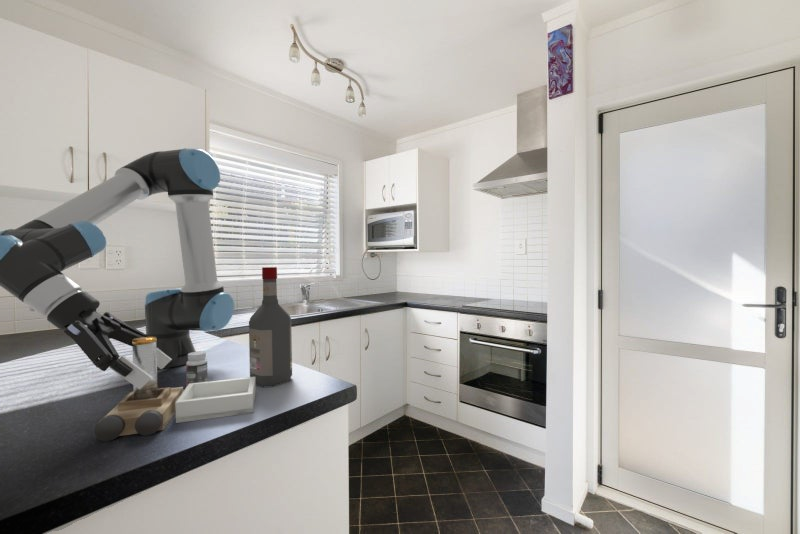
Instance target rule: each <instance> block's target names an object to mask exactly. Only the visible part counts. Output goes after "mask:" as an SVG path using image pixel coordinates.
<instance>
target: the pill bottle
mask: <svg viewBox="0 0 800 534" xmlns="http://www.w3.org/2000/svg"><path fill="white" fill-rule="evenodd" d="M206 357H207V353H206V351H202V350H200V351H199V350H198V351H196V352H192V353H189V354H188V360H189V361H187V363H186V364H185V369H186V370H185V373H186V375H185V376H186V378H185V379H186V383H185V384H186V387H187V386H188V384H190V383H200V382H209V381H208V360H207V358H206Z"/></svg>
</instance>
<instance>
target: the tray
mask: <svg viewBox="0 0 800 534" xmlns="http://www.w3.org/2000/svg"><path fill="white" fill-rule="evenodd" d="M256 387H257V385H256V380H255V377H250V376H249V377H247V376H246V377H241V378H240V377H239V378H229V379H219V380H210V381H208V382H200V383H190V384H188V386H187V385H186V387H185V389H183V393H182V394H181V396H180V397H179V398H178V400H177V401H176V403H175V408H176V412H175V424H180V423H186V422H194V421H200V420H207V419H208V420H209V419H216V418H223V417H231V416H239V415H245V414H252V413H254V407H255V401H256V394H257V393H256V392H257V390H256V389H257V388H256Z"/></svg>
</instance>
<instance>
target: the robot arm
mask: <svg viewBox="0 0 800 534" xmlns="http://www.w3.org/2000/svg"><path fill="white" fill-rule="evenodd" d="M220 181H221V172H220V169H219V165H218V164H217V162H216V160H215V159H214V158H213V157H212V155H211V154H209V153H208V152H207V151H206V150H204V149H202V148H201V149H200V148H186V147H184V148H182V149H181V148H180V149H172V150H165V151H164V150H161V151H154V152H150V153H148V154H145V155H143V156H140V157H139V158H136V159H135V160H133V161H131V162H129V163H128V164H126V165H124V166H121V167H120V168H118V169H117V170H116V171H115V172H114V176H112V177H110V178H108V179H106V180H104V181H103V182H101V183H100V184H99V183H98V184H97V185H96V186H94V187H92V188H90V189H88V190H86V191H84V192H83V193H80V194H79V195H77V196H75V197H74V198H72V199H69V200H68V201H66V202H64V203H62V204H60V205H58V206H57V207H55V208H53V209H52V210H49V211H47V212H45V213H44V214H42V215H40V216H38V217H36V218H35V219H33V220H30V221H29V222H27V223H25V224H23V225H20V226H18V227H17V228H15V229H14V228H10V229H5V230H0V287H1V288H2V289H4V290H5V291H7V292H8V293H10V295H11V294H12V296H14V297H16V298H17V299H18V300H20V301H21V302H22V303H24V304H25V306H28V307H29V311H30V312H36V313H37V314H39V316H41V317H46V320H47V321H48V322H49V323H51V324H52V325H53V326H55V327H56V328H57V329H58V330H60V331H63V332H64V334H66V335H67V336H68V337H69V338H71V339H72V340H73V341H74V343H76V344H77V346H78V347H79V348H80V350H81V351H82V352H83V353H84V354H85V355H86V357H88V359H89V360H90V361H91V362H92V364H93V365H94V366H95V367H96V368H98V369H99V370H100V371H103V372H105V371H107V370H108V369H111V370H112V371H113V372H115V373H116V374H117V375H119V376H121V378H123V379H124V380H126V381H127V382H129V383H130V384H132V386H133V385H134V386H135V387H137V388H138V389H141V388H142V387H143V386H144V385H145V384H146V383H147V382H148V381H149V380H150V379H151V378H152V376H151V375H149V374H148V373H147V372H145V371H144V370H143V369H141V368H140V367H139V366H137V365H136V364H134V363H133V360H130V359H129V358H127V357H126V356H125V355H122V356H120V354H119V353H118V350H116V348H115V346H114V345H113V343H112V341H111V340H110V339H112V340H114V341H117V342H120V343H122V344H125V345H127V346H130V347H132V348H133V346H132V340H133V339H136V338H142V337H157V341H156V345H157V370H158V369H160V370H161V371H162V370H163V369H167V368H168V369H169V368H173V367H180V366H183V365H184V366H185V365H186V363H187V361H189V360H188V354H189V353H192V352H197V351H196V348H195V346H194V344H193V341H192V339H191V335H190V331H196V332H197V331H198V332H199V331H200V332H211V331H212V332H213V331H214V332H215V331H221V330H222V329H224V328H225V327H227V326H228V325H229V323H230V322H231V319H232V317H233V315H234V311H235V302H234V299H233V297H232V296H231V294H229V293H227V292H225V290H224V284H223V283H221V282H220V281H219V280H218V275H217V267H216V259H215V251H214V240H213V230H212V222H211V221H212V220H211V214H210V213H211V212H210V205H209V202H210V201H211V199H213V197H214V189H216V188H217V187H219V184H220ZM161 193H167V197H168V198H169V199H170V200H171V201H172V202H174V204H175V212H176V218H177V227H178V235H179V244H180V250H181V251H180V252H181V259H182V267H183V276H184V285H183V286H182V287H181V288H171V289H163V290H156V291H150V292H148V293H147V294H146V295H145V304H144V313H145V314H144V318H145V333H144V332H142V331H140V330H139V329H137V328H135V327H133V326H131V325H130V324H129V323H126V322H124V321H123V320H121V319H119V318H117V317H116V316H114V315H113V314H111V313H110V312H108V311H105V312H104V313H103V314H101V313H99V312H97V309H98V308H99V307H100V304H101V303H100V301H99V299H97V298H95V297H94V296H92V295H91V294H90V293H89V292H87V291H86V290H85V291H82V289H83V288H82V286H80V285H79V284H77V283H76V282H75V281H74V280H72V279H71V278H70V277H68V276H67V275H65V274H64V273H63V271H65V270H67V269H69V268H72V267H73V266H75V265H78V264H80V263H81V262H83V261H86V260H88V259H90V258H93V257H95V255H97V254H99V253H102V251H104V250H105V248H106V246H107V239H106V236H105V235H104V233H103V231H102V230H101V228H99V227H98V226H97V225H98V224H100V223H101V222H103V221H105V220H106V219H108V218H109V217H111V216H113V215H114V214H115V213H118V212H119V211H120V210H122V209H124V208H125V207H127V206H128V205H130V204H131V203H133V202H135V201H136V200H140V201H141V200H146V199H147V198H148V197H150V196H152V195H156V194H161Z"/></svg>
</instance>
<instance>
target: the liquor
mask: <svg viewBox="0 0 800 534" xmlns="http://www.w3.org/2000/svg"><path fill="white" fill-rule="evenodd" d="M261 273H262V274H261V276H262V277H261V278H262V301H261V305H260V306H259V307H258V308H257V310H255V311H254V312H253V314H251V317H250V319H249V322H248V338H249V339H248V340H249V341H248V342H249V343H248V344H249V345H248V347H249V348H248V349H249V350H248V351H249V352H248V355H249V377H255V380H256V384H257V385H256V386H258V385H259V387H261V386H262V387H261V388H265V387H264V386H271V387H275V385H276V386H278V384H279V385H282V384H285V383H288V382H290V380H291V378H292V376H293V349H292V348H293V340H292V337H293V335H292V317H291V315H290V314H289V313H288V312H287V310H286V309H284V307H282V305H280V303H279V300H278V289H277V288H278V287H277V286H278V285H277V284H278V283H277V281H278V280H277V279H278V267H277V266H276V267H275V266H273V267H271V266H269V267H268V266H267V267H266V266H265V267H262V268H261ZM287 381H288V382H287ZM284 382H285V383H284ZM281 383H282V384H281Z"/></svg>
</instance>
